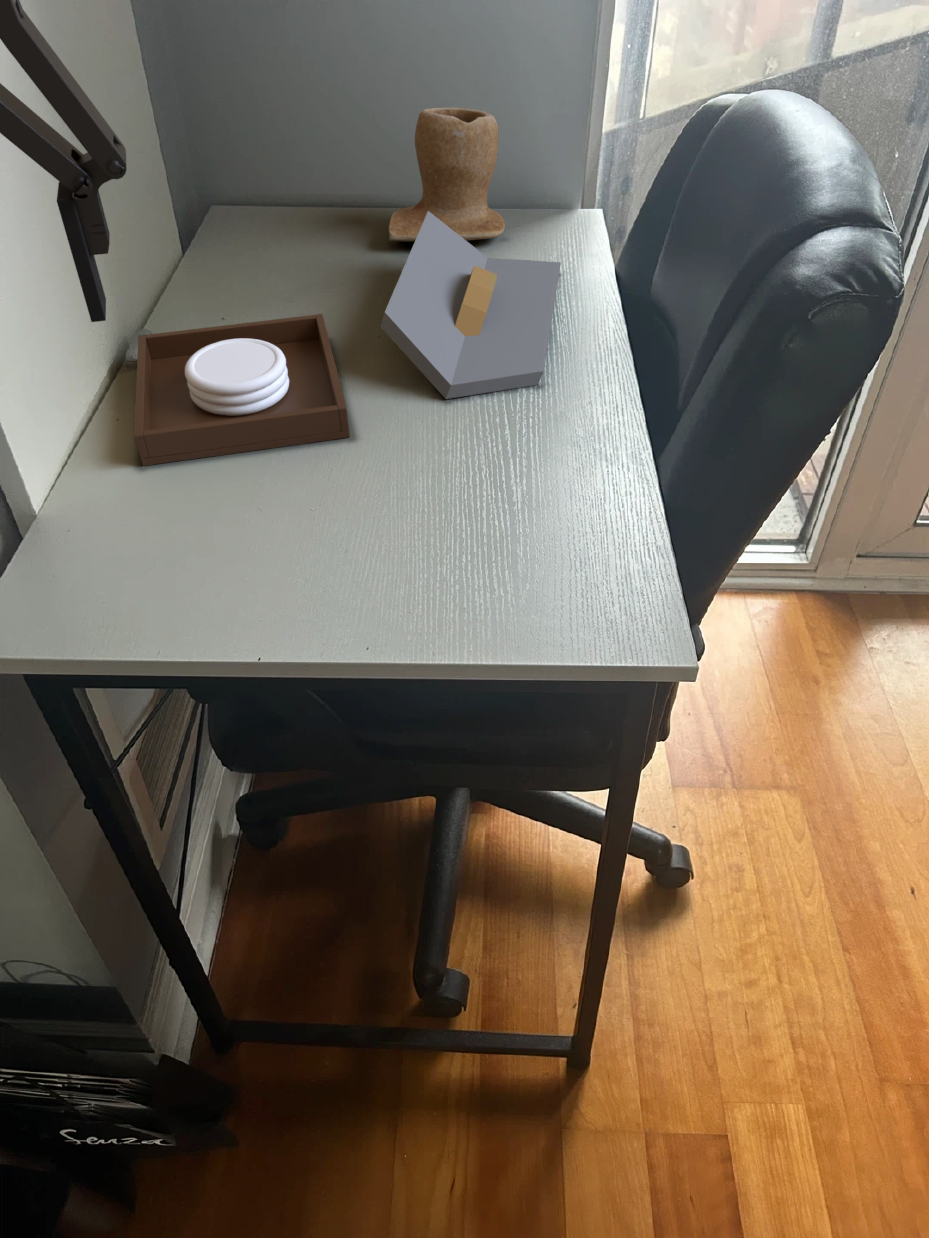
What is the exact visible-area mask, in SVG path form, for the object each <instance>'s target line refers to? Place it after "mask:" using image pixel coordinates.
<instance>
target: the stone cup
mask: <svg viewBox="0 0 929 1238" xmlns="http://www.w3.org/2000/svg"><path fill="white" fill-rule="evenodd" d="M414 148H415V155H416V160H417V165H418V171H419V175H420V180H421V186H422V194H421V195H422V196H421V199H420V200H419V201H418V202H417V203H416V204H415V205H412V206H407V207H401V208H399V209H397V210H395V211H394V212H393V213H392V215H391V217H390V220H389V224H388V235H389V236H388V239H389V241H390V242H407V243H408V242H409V243H410V242H411V243H412V242H415V240H416V238H417V235H418V233H419V231H420V228H421V226H422V224H423V221H424V219H425V217H426V214H427V212H428V211H429V212H430V213H432V214H433V215H434V216H435V217H437V218H438V219H439V220H440V221H442V222H443V223H444V224H446V225H447V226H448V227H449V228H451V229H452V230H453V231H454V232H456V233H457V234H458V235H459V236H461V237H462V238H463V239H465V240H466V241H476V240H488V239H494V238H498V237H500V236H501V235H502V234H503V233H504V231H505V227H506V225H505V220H504V218H503V217H502V215H500V213H498V211H496V210H493V209H492V208H490V207H489V205H488V193H489V188H490V183H491V181H492V178H493V174H494V171H495V168H496V165H497V160H498V154H499V153H498V152H499V124H498V122H497V120H496V118H495V116H494V115H492V114H491V113H489V112H486V111H483V110H479V109H474V108H466V107H432V108H425V109H422V110H421V111H420V113H419V114H418V117H417V122H416V126H415V131H414Z"/></svg>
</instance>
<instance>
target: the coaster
mask: <svg viewBox="0 0 929 1238" xmlns="http://www.w3.org/2000/svg"><path fill="white" fill-rule="evenodd" d="M185 377H186V379H187V385H188V388H189V390H190V397H191V399H192V400H193V402H194V403H195V404H196V405H197V406H198V407H199V408H201V409H203V410H205V411H208V412H210V413H214V414H218V415H226V416H238V415H247V414H252V413H256V412H259V411H262V410H265V409H267V408H269V407H271V406H273V405H274V404H276V403H277V402H278V401H280V400H281V399H282V398H283V397H284V395H285V394H286V393H287V391H288V388H289V377H288V370H287V367H286V358H285V356H284V354H283V352H282V351H281V350H280V349H279V348H278V347H276V346H275V345H273V344H271V343H269V342H266V341H262V340H258V339H249V338H238V339H229V340H223V341H219V342H216V343H213V344H210V345H208V346H205V347H203V348H201V349H200V350H198V351H197V352H196V353H194V354H193V355H192V356H191V357H190V359H189V360H188V361H187V363H186V366H185Z"/></svg>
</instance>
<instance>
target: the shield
mask: <svg viewBox="0 0 929 1238" xmlns="http://www.w3.org/2000/svg"><path fill="white" fill-rule="evenodd" d="M561 264H562V262H561V261H545V260H528V259H514V258H498V257H497V258H496V257H487V256H486V255H485V254H484V253H483V252H481V251H480V250H479V249H478V248H476V247H475V246H473V244H472V243H470V242H468V240H465V239H463V238H462V237H461V236H459V235H458V234H457V233H456V232H454V231H453V230H452V229H451V228H449V227H448V226H447V225H446V224H444V223H443V222H442V221H440V220H439V219H438V218H437V217H435V216H434V215H433V214H432V213H430V212H429V211H428V212H427V214H426V217H425V219H424V221H423V224H422V226H421V228H420V231H419V233H418V235H417V238H416V240H415V242H414V243H413V245H412V248H411V250H410V252H409V253H408V256H407V259H406V261H405V264H404V265H403V268H402V270H401V273H400V275H399V277H398V280H397V282H396V285H395V287H394V289H393V292H392V294H391V295H390V299H389V301H388V303H387V306H386V308H385V311H384V313H383V316H382V320H381V324H380V328H381V329H382V331H384V332H385V334H386V335H387V336H388V337H389V338H390V339H391V340H392V341H393V342H394V343H395V345H396V346H397V347H398V348H399V350H401V351H402V352H403V354H404V355H406V357H407V358H408V359H409V360H410V361H411V362H412V364H413V365H414V366H415V367H416V368H417V369H418V370H419V371H420V372H421V373H422V374H423V376H425V378H426V379H427V380H428V382H429V383H431V385H433V387H434V388H435V389H436V390H437V391H438V392H439V393H440V394H441V395H442V396H443V398H444V399H446V400H449V399H454V398H461V397H468V396H475V395H481V394H489V393H495V392H502V391H507V390H513V389H520V388H527V387H533V386H538V385H539V383H540V381H541V378H542V376H543V373H544V371H545V365H546V358H547V352H548V346H549V339H550V334H551V327H552V322H553V314H554V309H555V302H556V297H557V296H556V295H557V290H558V285H559V284H558V283H559V278H560V272H561Z"/></svg>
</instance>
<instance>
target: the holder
mask: <svg viewBox="0 0 929 1238" xmlns="http://www.w3.org/2000/svg"><path fill="white" fill-rule="evenodd" d="M238 338H249V339H258V340H262V341H266V342H269V343H271V344H273V345H275V346H276V347H278V348H279V349H280V350H281V351H282V352H283V354H284V356H285V358H286V367H287V370H288V377H289V388H288V391H287V393H286V394H285V395H284V397H283V398H282V399H281V400H280V401H278V402H277V403H276V404H274V405H273V406H271V407H269V408H267V409H265V410H262V411H259V412H256V413H252V414H247V415H238V416H226V415H218V414H214V413H210V412H208V411H205V410H203V409H201V408H199V407H198V406H197V405H196V404H195V403H194V402H193V400H192V399H191V397H190V390H189V388H188V385H187V379H186V377H185V366H186V363H187V361H188V360H189V359H190V357H191V356H192V355H193V354H194V353H196V352H197V351H198V350H200V349H201V348H203V347H205V346H208V345H210V344H213V343H216V342H219V341H223V340H229V339H238ZM333 353H334V352H333V350H332V346H331V342H330V338H329V334H328V330H327V326H326V322H325V317H324V315H323V313H319V314H318V313H317V314H310V315H301V316H292V317H284V318H277V319H268V320H267V319H266V320H259V321H251V322H243V323H234V324H226V325H225V324H224V325H217V326H209V327H201V328H192V329H183V330H174V331H167V332H158V333H150V334H149V333H148V334H141V335H140V334H139V335H138V336H137V358H136V381H135V383H136V384H135V406H134V407H135V408H134V409H135V410H134V411H135V412H134V434H133V437H134V441H135V444H136V448H137V450H138V454H139V457H140V461H141V463H142V466H144V467H147V466H152V465H153V466H154V465H160V464H167V463H174V462H181V461H189V460H195V459H204V458H211V457H217V456H225V455H232V454H240V453H246V452H248V453H249V452H253V451H261V450H268V449H275V448H282V447H283V448H284V447H289V446H297V445H298V446H299V445H304V444H312V443H320V442H326V441H334V440H340V439H348V438H350V437H351V433H350V424H349V416H348V408H347V405H346V404H347V403H346V401H345V396H344V393H343V389H342V385H341V381H340V377H339V374H338V373H339V372H338V370H337V365H336V361H335V358H334V354H333Z"/></svg>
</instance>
